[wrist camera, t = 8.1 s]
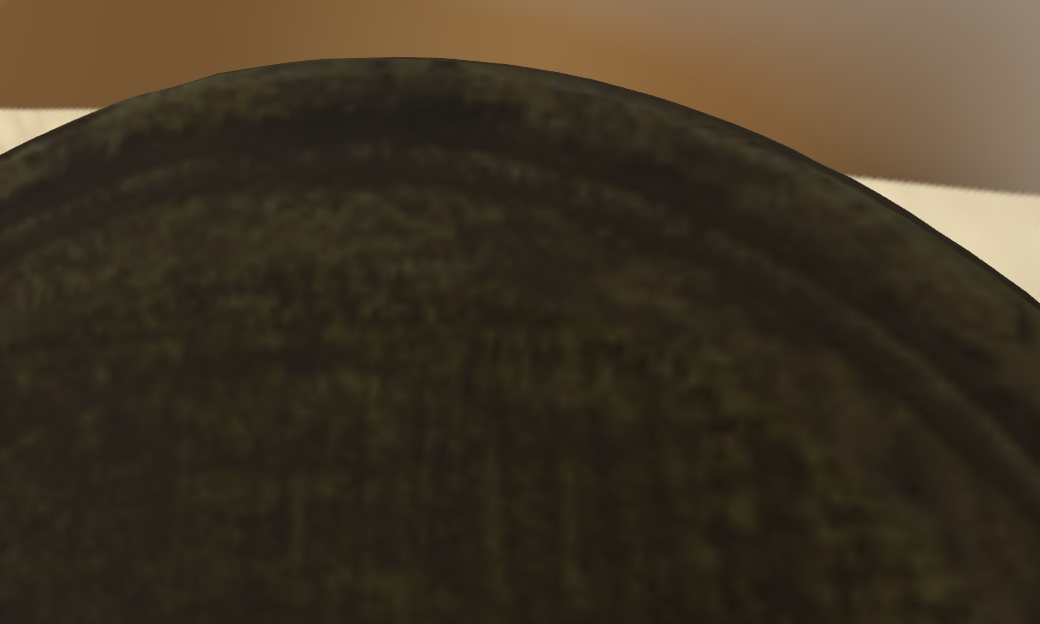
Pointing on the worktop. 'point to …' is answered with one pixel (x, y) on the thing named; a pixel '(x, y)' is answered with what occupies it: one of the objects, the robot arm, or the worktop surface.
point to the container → (494, 367)
